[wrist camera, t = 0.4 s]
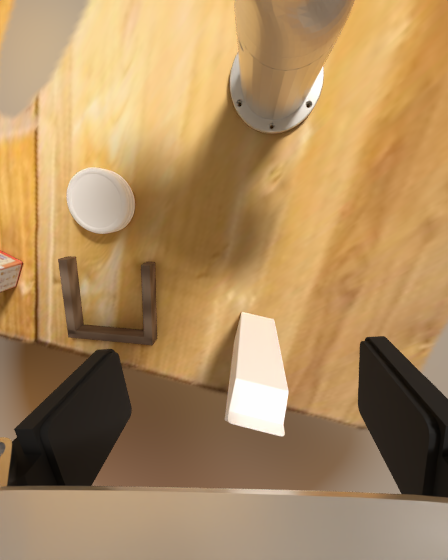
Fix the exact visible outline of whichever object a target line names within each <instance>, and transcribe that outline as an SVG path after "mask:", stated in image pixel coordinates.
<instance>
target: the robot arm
mask: <svg viewBox="0 0 448 560" xmlns="http://www.w3.org/2000/svg"><path fill="white" fill-rule="evenodd" d="M353 4H354V0H234V8H235V20H236V32H237V43H238V53H237V55H236V57H235V59H234V62H233V65H232V68H231V74H230V92H231V98H232V101H233V105H234V107H235V109H236V111H237V113H238V115H239V116H240V117H241V119H242V120H243V121H244V122H245V123H246V124H247V125H248V126H249V127H251V128H253V129H255V130H256V131H259V132H263V133H269V134H276V133H282V132H285V131H288V130H290V129H292V128H294V127H296V126H297V125H299V124H300V123H301V122H302V121H303V120H305V118H306V117H307V116H308V115H309V114H310V113H311V111H312V110H313V108H314V107H315V105H316V103H317V101H318V99H319V97H320V93H321V90H322V87H323V79H324V64H325V62H326V60H327V58H328V56H329V54H330V52H331V50H332V48H333V47H334V45H335V43H336V41H337V39H338V37H339V35H340V33H341V31H342V29H343V27H344V25H345V23H346V21H347V19H348V17H349V15H350V12H351V9H352V7H353ZM239 103H241V104H242V105H241V106H240V107H239V106H238V104H239ZM306 105H309V106H310V107H309V108H307V107H306ZM270 126H273V129H270ZM358 407H359V411H360V414H361V416H362V418H363V420H364V422H365V424H366V426H367V428H368V430H369V431H370V434H371V435H372V437H373V439H374V441H375V443H376V445H377V447H378V449H379V451H380V453H381V455H382V457H383V459H384V461H385V463H386V464H387V467H388V468H389V470H390V472H391V474H392V476H393V478H394V480H395V482H396V484H397V485H398V488H399V490H400V492H401V494H386V493H363V492H337V491H303V490H267V489H266V490H265V489H226V488H225V489H224V488H178V487H122V486H119V487H117V486H91V485H92V483H93V482H94V480H95V478H96V476H97V474H98V473H99V471H100V469H101V467H102V466H103V464H104V462H105V460H106V459H107V457H108V455H109V453H110V452H111V450H112V448H113V446H114V444H115V443H116V441H117V439H118V437H119V436H120V433H121V432H122V430H123V429H124V427H125V425H126V423H127V421H128V420H129V418H130V416H131V404H130V400H129V396H128V392H127V388H126V383H125V379H124V375H123V371H122V367H121V363H120V358H119V355H118V353H116V352H115V351H114V350H112V349H103V350H97V351H95V352H94V353H93V354H92V355H91V356H90V357H89V358H88V359H87V360H86V361H85V362H84V363H83V364H82V365H81V366H80V367H79V368H78V369H77V370H75V371H74V372H73V374H71V375H70V376H69V377H68V378H67V379H66V380H65V381H64V382H63V383H62V384H61V385H60V386H59V387H58V388H57V389H56V390H55V391H54V392H53V393H51V394H50V395H49V396H48V397H47V398H46V399H45V400H44V401H43V402H42V403H41V404H40V405H39V406H38V407H37V408H36V409H35V410H34V411H33V412H32V413H31V414H30V415H28V416H27V417H26V418H25V419H24V420H23V421H22V422H21V423H20V424H19V425H18V426H17V427H16V428H15V429H14V430H15V432H16V435H17V438H16V439H15V440H14V441H13V442H12V441H11V440H10V439H9V438H4V437H1V438H0V560H448V399H447V398H446V397H445V396H444V395H443V394H442V393H441V392H440V391H439V390H438V389H437V388H436V387H435V386H434V385H433V384H432V383H431V382H430V381H429V380H428V379H427V378H426V377H425V376H424V375H423V374H422V373H421V372H420V371H419V370H418V369H417V368H416V367H415V366H414V365H413V364H412V363H411V362H410V361H409V360H408V359H407V358H406V357H405V356H404V355H403V354H402V353H401V352H400V351H399V350H398V349H397V348H396V347H395V346H394V345H393V344H392V343H391V342H390V341H389V340H388V339H387V338H386V337H384V336H380V337H366V339H365V341H362V342H361V343H360V360H359V388H358Z"/></svg>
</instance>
